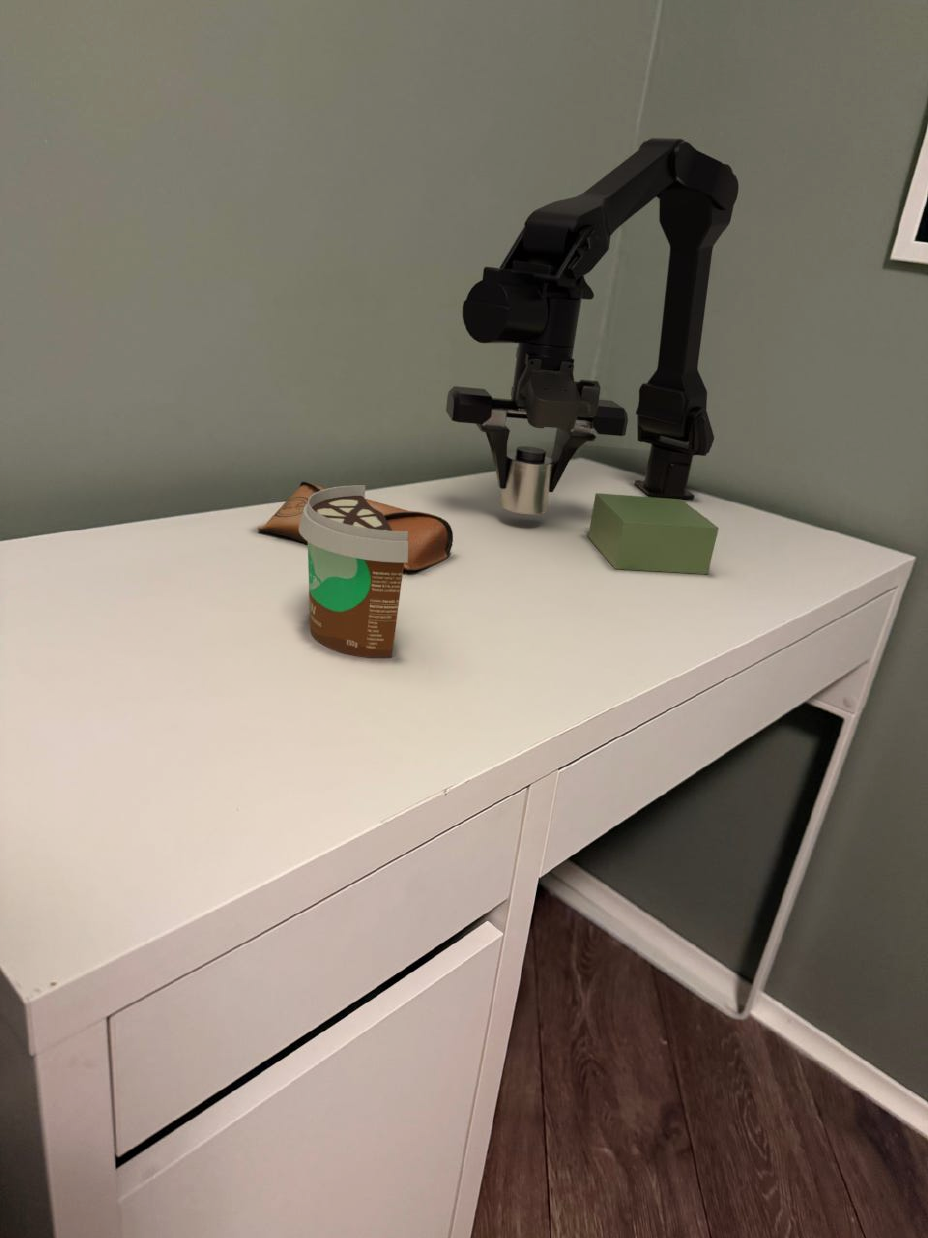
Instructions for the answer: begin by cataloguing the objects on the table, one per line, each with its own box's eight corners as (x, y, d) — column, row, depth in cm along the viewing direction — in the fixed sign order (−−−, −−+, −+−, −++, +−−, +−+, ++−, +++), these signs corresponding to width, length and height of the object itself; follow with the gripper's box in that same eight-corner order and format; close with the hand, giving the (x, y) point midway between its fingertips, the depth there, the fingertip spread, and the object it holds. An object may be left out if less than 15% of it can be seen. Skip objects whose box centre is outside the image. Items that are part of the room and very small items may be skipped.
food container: (281, 602, 72) (285, 482, 68) (355, 600, 74) (363, 483, 70) (312, 672, 62) (320, 534, 58) (397, 666, 64) (410, 534, 60)
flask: (496, 499, 101) (503, 442, 98) (540, 502, 102) (549, 446, 99) (504, 512, 96) (512, 453, 94) (551, 516, 97) (560, 457, 94)
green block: (587, 536, 98) (595, 492, 96) (672, 542, 100) (682, 499, 98) (614, 569, 89) (624, 521, 87) (707, 574, 91) (719, 527, 89)
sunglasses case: (250, 527, 86) (272, 463, 87) (285, 547, 93) (306, 487, 94) (414, 572, 80) (437, 503, 81) (439, 590, 87) (460, 526, 87)
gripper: (469, 344, 83) (451, 505, 89) (658, 363, 86) (628, 517, 92) (453, 330, 93) (438, 476, 99) (623, 348, 96) (598, 487, 103)
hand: (525, 489), depth 98 cm, fingers closed on flask, 5 cm apart
